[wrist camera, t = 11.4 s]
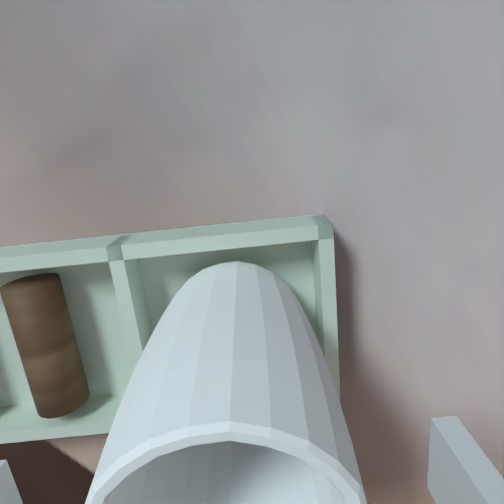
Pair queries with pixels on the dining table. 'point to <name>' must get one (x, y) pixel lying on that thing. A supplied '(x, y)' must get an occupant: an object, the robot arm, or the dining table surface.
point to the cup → (230, 404)
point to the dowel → (46, 343)
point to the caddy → (152, 303)
